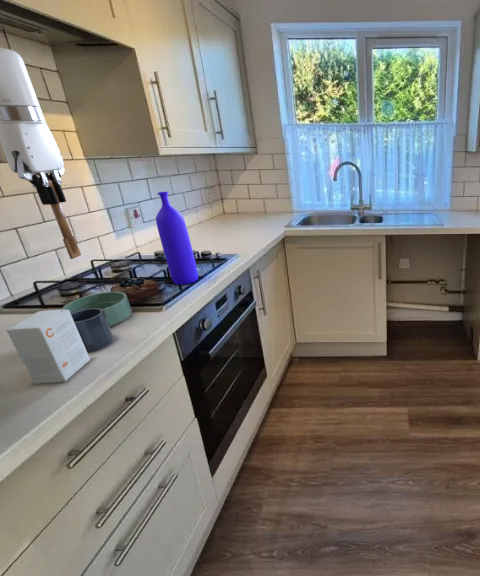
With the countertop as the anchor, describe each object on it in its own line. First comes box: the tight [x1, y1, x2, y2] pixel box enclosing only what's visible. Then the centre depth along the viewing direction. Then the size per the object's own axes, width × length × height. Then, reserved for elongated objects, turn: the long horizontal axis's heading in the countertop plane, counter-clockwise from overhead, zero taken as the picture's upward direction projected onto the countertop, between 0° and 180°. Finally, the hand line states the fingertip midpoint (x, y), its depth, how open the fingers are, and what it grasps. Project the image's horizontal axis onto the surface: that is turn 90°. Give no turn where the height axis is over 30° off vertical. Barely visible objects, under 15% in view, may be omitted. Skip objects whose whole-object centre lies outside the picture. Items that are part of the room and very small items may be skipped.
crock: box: [71, 308, 115, 353], centre depth 86 cm, size 7×7×8 cm
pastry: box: [109, 276, 160, 305], centre depth 113 cm, size 11×12×6 cm
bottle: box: [155, 191, 199, 286], centre depth 119 cm, size 8×8×30 cm
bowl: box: [60, 291, 133, 327], centre depth 98 cm, size 14×14×6 cm
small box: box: [6, 309, 91, 385], centre depth 75 cm, size 8×6×13 cm
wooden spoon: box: [47, 179, 82, 260], centre depth 86 cm, size 2×3×19 cm, turn 5°
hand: (54, 202), depth 85 cm, fingers closed on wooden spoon, 1 cm apart
